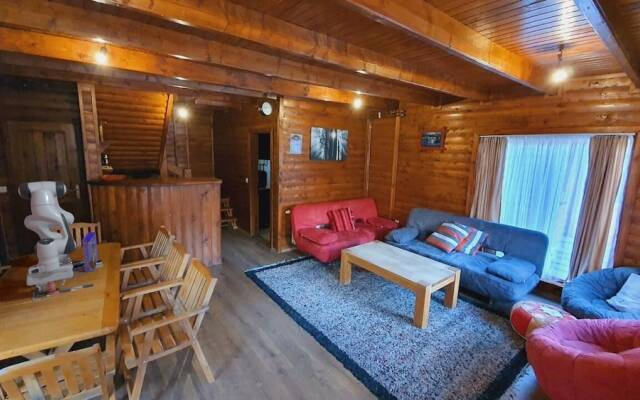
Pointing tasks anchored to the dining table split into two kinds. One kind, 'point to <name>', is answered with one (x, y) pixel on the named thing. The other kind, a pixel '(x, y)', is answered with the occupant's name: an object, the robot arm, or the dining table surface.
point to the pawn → (52, 288)
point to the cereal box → (90, 251)
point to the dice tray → (36, 291)
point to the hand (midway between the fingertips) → (52, 287)
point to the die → (44, 287)
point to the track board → (62, 291)
